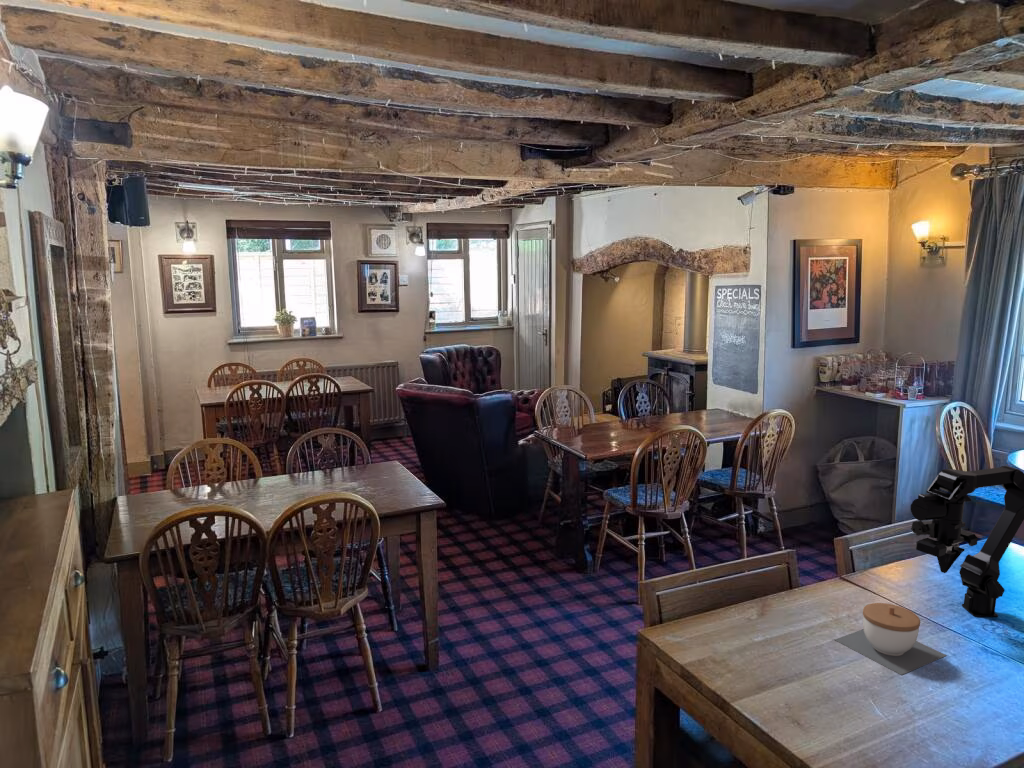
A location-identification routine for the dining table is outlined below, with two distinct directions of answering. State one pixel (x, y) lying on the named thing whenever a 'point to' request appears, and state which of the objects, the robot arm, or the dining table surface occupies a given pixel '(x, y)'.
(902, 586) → the dining table surface
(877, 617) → the lidded bowl
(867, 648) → the placemat
